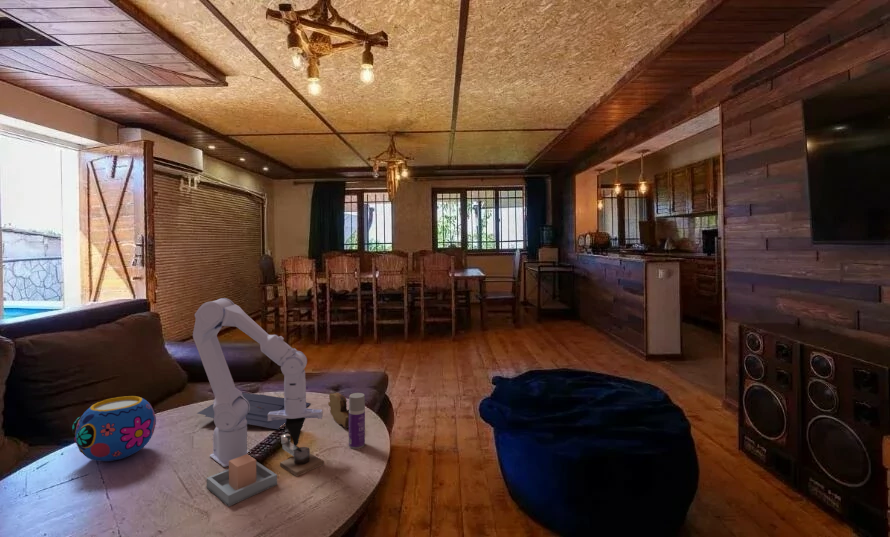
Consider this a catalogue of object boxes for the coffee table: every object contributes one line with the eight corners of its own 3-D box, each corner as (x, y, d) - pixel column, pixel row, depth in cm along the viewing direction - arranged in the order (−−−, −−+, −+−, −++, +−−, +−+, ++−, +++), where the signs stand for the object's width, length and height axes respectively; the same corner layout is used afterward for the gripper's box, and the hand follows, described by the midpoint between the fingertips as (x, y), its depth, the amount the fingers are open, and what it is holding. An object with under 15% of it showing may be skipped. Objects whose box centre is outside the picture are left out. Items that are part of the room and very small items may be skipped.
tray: (206, 487, 101) (206, 477, 101) (253, 468, 110) (253, 459, 110) (228, 506, 94) (228, 495, 94) (277, 484, 103) (277, 474, 103)
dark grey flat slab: (234, 397, 160) (235, 388, 159) (310, 410, 158) (311, 400, 158) (191, 424, 135) (192, 413, 135) (281, 438, 134) (283, 427, 134)
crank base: (279, 466, 112) (280, 461, 112) (306, 454, 118) (306, 451, 118) (296, 476, 107) (296, 472, 107) (323, 464, 113) (323, 460, 113)
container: (361, 449, 122) (361, 398, 121) (345, 447, 123) (346, 397, 122) (367, 442, 126) (367, 393, 126) (352, 440, 127) (352, 392, 127)
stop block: (228, 485, 102) (228, 460, 101) (247, 477, 105) (247, 454, 105) (237, 491, 99) (237, 466, 99) (256, 483, 102) (256, 459, 102)
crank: (312, 460, 113) (312, 444, 112) (298, 465, 110) (298, 449, 109) (290, 446, 120) (290, 432, 120) (276, 451, 117) (276, 436, 117)
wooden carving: (358, 429, 136) (358, 398, 135) (345, 433, 133) (345, 402, 132) (335, 414, 148) (336, 386, 148) (323, 417, 145) (323, 388, 145)
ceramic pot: (70, 456, 116) (69, 402, 115) (148, 436, 129) (147, 388, 128) (79, 480, 104) (78, 420, 103) (163, 455, 117) (163, 402, 116)
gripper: (324, 390, 122) (325, 436, 123) (272, 392, 121) (273, 438, 121) (319, 399, 115) (320, 447, 116) (264, 401, 114) (265, 450, 114)
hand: (296, 443), depth 118 cm, fingers closed, pressing on crank
